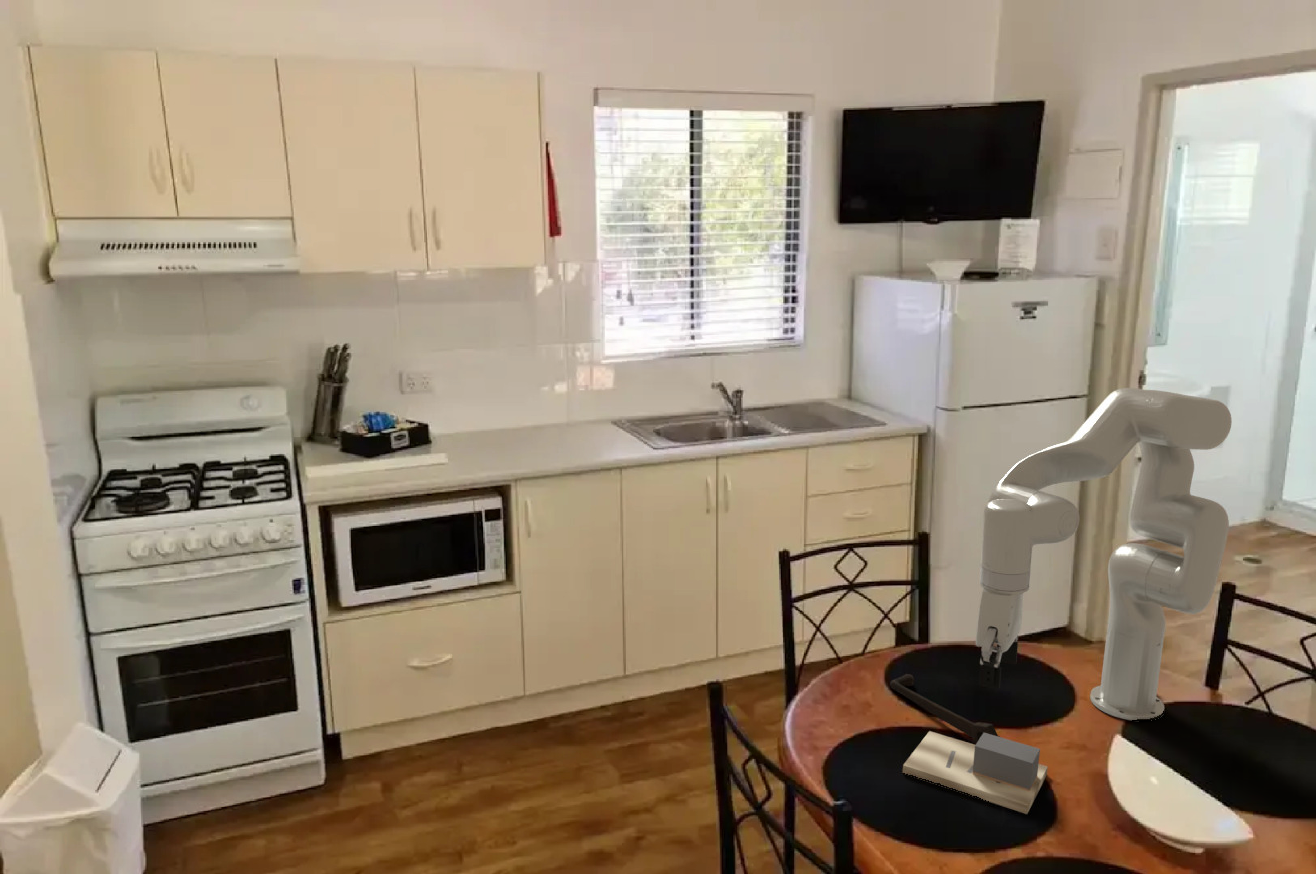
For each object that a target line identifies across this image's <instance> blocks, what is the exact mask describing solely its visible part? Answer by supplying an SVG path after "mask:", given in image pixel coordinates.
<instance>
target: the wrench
mask: <svg viewBox="0 0 1316 874" xmlns="http://www.w3.org/2000/svg"><path fill="white" fill-rule="evenodd" d="M914 683H915V678H914V676H913V675H912V674H910V673H909V674H907V673H905V674H904V675H902V676H900V677H897V678H894V679H892V680H891V681H890V683H889V685H890V687H891V688H892V690H894V691H895V692H897V693H898V694H900V695H902V696H904V697H905V698H907V699H909V700H910V701H911V702H913V703H916V704H917V705H918V706H920V707H921V708H922V709H924V710H926V711H928V712H929V713H931V714H933V715H934V716H936V717H937V718H939V719H940V720H942V721H944V722H946V723H947V724H948V725H950V726H952V727H954V728H955V729H957V730H959V732H962V733H964V734H965V735H967V736H968V737H970V738H972V741H973V742H974V745H976V744H977V742H978V740H979V739H980V737H981V736H982V734H983V733H987V734H991V735H994V736H998V737H1000V736H999V734H998V733H997V730H996V729H995V725H994V724H993V723H987V722H982V721H980V722H979V721H978V722H972V721H970V720H969V719H966V718H965V717H963V716H962V715H959V714H956V713H955V712H953V711H951V710H949V709H947V708H945V707H943V706H941V705H939V704H937V703H936V702H933V701H932V700H930V699H928V698H926V697H925V696H922V695H920V694H919V693H917V692H915V691H913V690H911V689H909V688H907V687H912V686H913V685H914ZM973 742H972V743H973Z"/></svg>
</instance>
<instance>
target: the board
mask: <svg viewBox="0 0 1316 874" xmlns="http://www.w3.org/2000/svg"><path fill="white" fill-rule="evenodd" d="M975 745H976V744H975V743H974V744H973V743H970V742H966V741H965V740H961V739H957V738H954V737H950V736H947V735H944V734H941V733H937V732H934V731H931V730H929V731H928V732H927V734H926V735H925V736H924V737H923V738H922V740H921V742H920V743H919V744H918V745H917V746H916V748H915V749H914V750H913V752H911V754H910V756H909V757H908V758H907V759H906V761H905V762H904V763H903V765H902V774H903V773H905V774H904V775H906V774H908V775H907V776H909V775H913V776H916V777H918V778H917V779H919V778H922V779H926V780H929V781H932V782H934V783H940V784H941V785H944V786H947V787H949V788H953V789H956V790H958V791H962V792H965V793H968V794H970V795H972V796H971V797H973V796H977V797H979V798H981V799H980V800H982V799H983V801H985V800H986V801H985V802H988V801H989V803H992V804H993V805H994V804H995V805H998V806H1001V807H1004V808H1007V809H1010V810H1014V811H1017V812H1018V813H1022V814H1025V815H1028V813H1029V811H1030V809H1031V807H1032V806H1033V804H1034V801H1035V799H1036V798H1037V796H1038V793H1039V791H1040V789H1041V788H1042V786H1043V784H1044V781H1045V779H1046V778H1047V776H1048V768H1049V767H1048V766H1047V765H1044V764H1040V763H1039V764H1038V773H1037V778H1036V780H1035V782H1034V784H1033V786H1032V788H1031V790H1030V791H1027V790H1023V789H1020V788H1017V787H1014V786H1011V785H1008V784H1005V783H1001V782H998V781H995V780H992V779H989V778H986V777H982V776H979V775H976V774H973V762H974V751H975ZM922 779H921V780H922ZM934 783H933V784H934ZM949 788H948V789H949ZM958 791H957V792H958ZM970 795H969V796H970ZM979 798H978V799H979Z"/></svg>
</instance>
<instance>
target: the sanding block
mask: <svg viewBox="0 0 1316 874" xmlns="http://www.w3.org/2000/svg"><path fill="white" fill-rule="evenodd" d="M998 736H999V735H998ZM998 736H994V735H991V734H987V733H983V734H982V736H981V737H980V739H979V740H978V742H977V744H974V745H975V751H974V762H973V774H976V775H979V776H982V777H986V778H989V779H992V780H995V781H998V782H1001V783H1005V784H1008V785H1011V786H1014V787H1017V788H1020V789H1023V790H1027V791H1030V790H1031V788H1032V786H1033V784H1034V782H1035V780H1036V778H1037V773H1038V764H1040V762H1039V761H1040V756H1041V754H1040V753H1041V748H1038V747H1035V746H1032V745H1029V744H1025V743H1021V742H1017V741H1014V740H1011V739H1008V738H1004V737H1001V736H999V737H998Z"/></svg>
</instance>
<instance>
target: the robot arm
mask: <svg viewBox="0 0 1316 874" xmlns="http://www.w3.org/2000/svg"><path fill="white" fill-rule="evenodd" d="M1231 429H1232V414H1231V412H1230V409H1229V408H1228V406H1227V405H1226V404H1224V403H1223V402H1222V401H1220V400H1217V399H1210V398H1207V397H1200V396H1199V397H1198V396H1193V395H1187V394H1180V393H1177V392H1176V393H1175V392H1171V391H1170V392H1169V391H1165V390H1156V389H1140V388H1134V387H1133V388H1132V387H1123V388H1118V389H1116V390H1114V391H1112V392H1110V393H1109V394H1108V395H1107V396H1106V397H1105V398H1104V399H1103V400H1102V402H1101V403H1100V404H1099V405H1098V406H1097V407H1096V408H1095V409H1094V410H1093V412H1092V413H1091V414H1090V415H1089V417H1087V419H1086V420H1084V422H1083V423H1082V424H1081V425H1080V427H1079V428H1078V429H1077V430H1076V431H1075V432H1074V433H1073V434H1072V435H1071V437H1070V438H1069V439H1067V440H1066V441H1063V442H1060V443H1057V444H1055V445H1051V446H1049V447H1047V448H1043V449H1042V450H1040V451H1037V452H1035V453H1033V454H1031V455H1028V456H1026V457H1025V458H1023V459H1021V460H1020V461H1018V462H1017V463H1015V464H1014V465H1013V466H1012V467H1011V468H1010V469H1009V470H1008V472H1007V473H1006V474H1005V475H1004V476H1003V477H1002V478H1001V479H1000V480H999V482H998V483H997V484H996V486H995V487H994V489H993V490H992V492H991V494H990V496H989V498H988V502H987V504H986V505H985V506H984V510H983V520H982V521H983V522H982V536H981V538H982V539H981V551H980V553H981V554H980V568H979V569H980V570H979V586H980V587H981V588H982V591H981V597H980V600H979V601H980V603H979V607H978V608H979V610H978V616H977V622H976V623H977V624H976V625H977V626H976V633H975V646H976V647H978V648H980V647H981V650H980V651H981V654H980V660H979V673H978V674H979V675H978V685H979V686H981V687H983V688H986V689H987V688H988V689H992V690H995V691H998V690H1000V688H1001V678H1002V665H1000V663H1003V664H1008V665H1012V666H1015V665H1016V664H1017V660H1018V659H1017V658H1018V647H1019V645H1018V644H1019V642H1018V640H1019V634H1020V631H1021V629H1022V628H1021V627H1022V620H1023V608H1024V607H1023V606H1024V593H1027V592H1028V591H1029V590H1030V583H1031V582H1030V581H1031V570H1032V569H1031V568H1032V558H1033V557H1032V556H1033V547H1034V546H1035V545H1050V544H1051V545H1052V544H1058V543H1061V542H1064V541H1066V540H1068V539H1070V538H1071V537H1072V536H1073V535H1074V534H1075V533H1076V531H1077V529H1078V527H1079V525H1080V519H1081V518H1080V513H1079V510H1078V508H1077V507H1076V505H1075V503H1073V502H1071V501H1070V500H1069V499H1066V498H1064V497H1061V496H1058V495H1055V494H1051V493H1048V492H1044V491H1041V490H1042V489H1044V488H1047V487H1049V486H1052V485H1057V484H1062V483H1073V482H1082V481H1083V482H1084V481H1090V480H1097V479H1102V478H1105V477H1107V476H1109V475H1111V474H1112V473H1113V472H1114V471H1115V469H1116V468H1117V467H1118V466H1119V464H1121V462H1123V460H1124V459H1125V458H1126V456H1127V455H1128V454H1129V453H1130V452H1131V450H1132V449H1133V448H1134V447H1135V446H1136V445H1137V444H1138V445H1139V449H1140V453H1141V454H1140V455H1141V462H1140V463H1141V464H1140V468H1139V472H1138V477H1137V482H1136V487H1135V490H1134V494H1133V495H1134V496H1133V500H1132V504H1131V509H1130V513H1129V525H1130V527H1131V529H1132V531H1133V532H1135V533H1136V534H1138V535H1139V536H1142V537H1143V538H1147V539H1150V540H1153V541H1156V542H1159V543H1163V544H1166V545H1169V546H1173V547H1177V548H1179V549H1182V550H1183V555H1181V554H1177V553H1174V552H1170V551H1168V550H1164V549H1161V548H1158V547H1155V546H1151V545H1149V544H1143V543H1137V542H1128V543H1124V544H1121V545H1119V546H1117V548H1115V549H1114V551H1112V553H1111V555H1110V557H1109V560H1108V565H1107V566H1108V567H1107V576H1108V577H1107V578H1108V586H1109V609H1108V620H1107V628H1106V637H1105V645H1104V653H1103V654H1104V655H1103V662H1102V670H1101V671H1102V672H1101V681H1100V685H1097V686H1095V687H1093V688H1092V690H1091V691H1090V697H1089V698H1090V701H1091V703H1092V704H1093V706H1094V707H1096V708H1097V709H1098V710H1100V711H1102V712H1103V713H1105V714H1107V715H1110V716H1113V717H1115V718H1118V719H1121V720H1127V721H1132V720H1137V719H1150V718H1154V717H1157V716H1159V715H1161V714H1162V713H1163V711H1164V712H1165V705H1164V703H1163V701H1162V700H1161V699H1160V698H1159V697H1158V696H1157V694H1158V693H1157V692H1158V687H1159V686H1158V685H1159V679H1160V678H1159V677H1160V671H1161V665H1162V655H1163V647H1164V640H1165V635H1166V618H1165V613H1164V610H1163V607H1165V608H1169V609H1171V610H1174V611H1177V612H1178V613H1179V612H1180V613H1184V614H1187V615H1189V614H1190V615H1195V614H1196V615H1197V614H1199V613H1202V612H1203V611H1204V610H1205V609H1206V608H1207V607H1208V606H1209V604H1210V602H1211V600H1212V598H1213V595H1214V593H1215V588H1216V585H1217V580H1218V577H1219V573H1220V568H1221V564H1222V560H1223V558H1224V557H1223V556H1224V553H1225V549H1226V544H1227V540H1228V537H1229V530H1230V520H1229V516H1228V514H1227V510H1226V509H1225V508H1224V507H1223V506H1222V505H1221V504H1220V503H1218V502H1217V501H1214V500H1212V499H1208V498H1206V497H1202V496H1201V497H1200V496H1196V495H1192V494H1191V487H1192V481H1193V476H1194V472H1195V462H1194V457H1193V454H1192V451H1191V450H1205V451H1206V450H1207V451H1208V450H1212V449H1215V448H1217V447H1219V446H1221V444H1223V442H1225V440H1226V439H1227V438H1228V436H1229V434H1230V431H1231ZM995 645H996V646H995ZM993 652H994V653H996V654H995V655H996V656H995V655H994V654H993Z"/></svg>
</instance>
